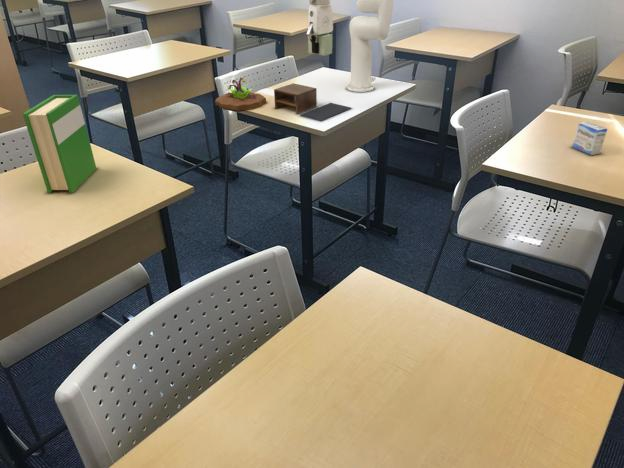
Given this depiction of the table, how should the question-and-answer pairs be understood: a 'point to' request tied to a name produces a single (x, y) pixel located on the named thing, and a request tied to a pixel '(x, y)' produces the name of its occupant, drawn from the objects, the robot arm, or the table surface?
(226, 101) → the plant
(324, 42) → the green square container
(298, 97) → the shelf
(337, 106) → the desk pad
